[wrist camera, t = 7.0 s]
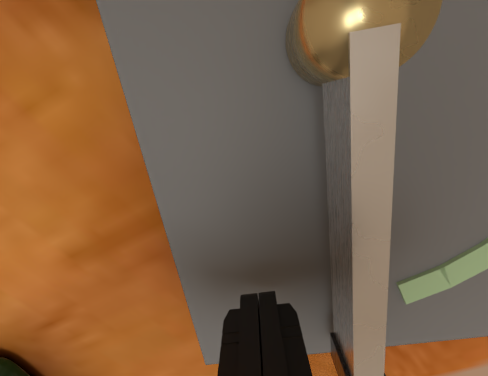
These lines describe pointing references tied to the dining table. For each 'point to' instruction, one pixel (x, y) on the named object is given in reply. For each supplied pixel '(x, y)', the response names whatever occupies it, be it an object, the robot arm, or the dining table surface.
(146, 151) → the dial plate
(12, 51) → the dining table surface
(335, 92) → the pointer
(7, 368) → the coffee jar
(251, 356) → the robot arm
